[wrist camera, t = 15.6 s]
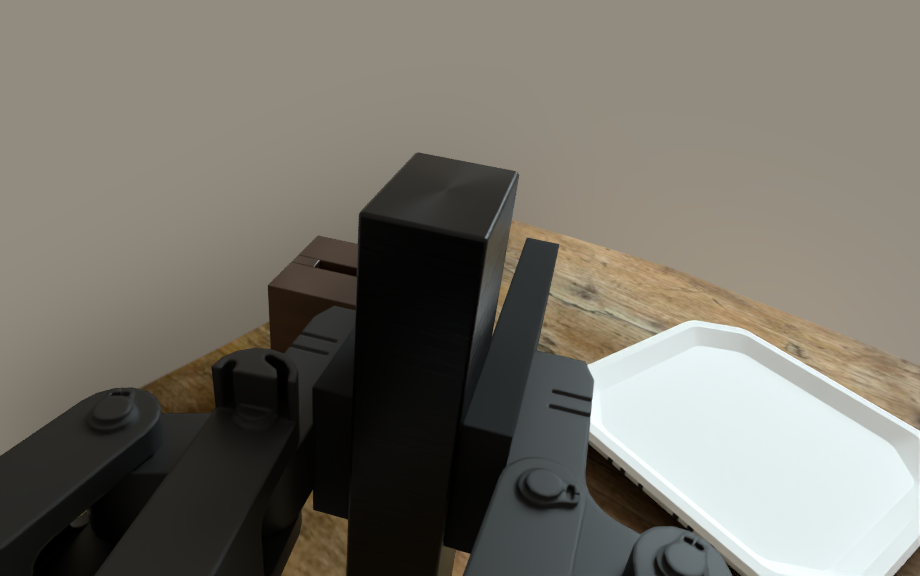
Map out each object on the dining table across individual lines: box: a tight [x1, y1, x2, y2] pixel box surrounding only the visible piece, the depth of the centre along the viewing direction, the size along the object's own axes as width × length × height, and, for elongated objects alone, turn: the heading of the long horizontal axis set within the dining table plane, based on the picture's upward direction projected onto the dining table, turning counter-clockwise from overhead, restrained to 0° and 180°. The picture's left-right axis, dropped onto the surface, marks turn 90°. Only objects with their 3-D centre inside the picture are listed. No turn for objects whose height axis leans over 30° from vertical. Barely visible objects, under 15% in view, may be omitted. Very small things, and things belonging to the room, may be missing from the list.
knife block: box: [268, 236, 358, 353], centre depth 42 cm, size 7×7×9 cm
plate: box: [587, 320, 920, 576], centre depth 43 cm, size 21×21×2 cm
